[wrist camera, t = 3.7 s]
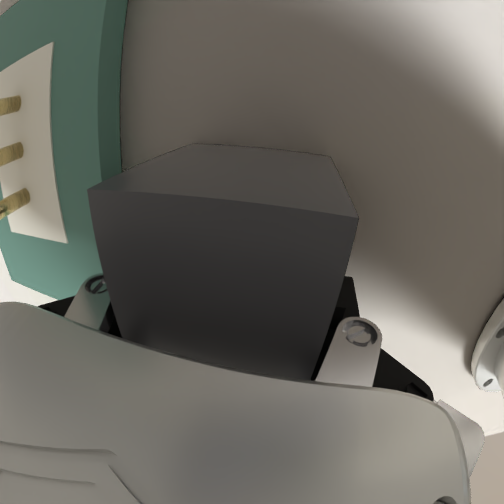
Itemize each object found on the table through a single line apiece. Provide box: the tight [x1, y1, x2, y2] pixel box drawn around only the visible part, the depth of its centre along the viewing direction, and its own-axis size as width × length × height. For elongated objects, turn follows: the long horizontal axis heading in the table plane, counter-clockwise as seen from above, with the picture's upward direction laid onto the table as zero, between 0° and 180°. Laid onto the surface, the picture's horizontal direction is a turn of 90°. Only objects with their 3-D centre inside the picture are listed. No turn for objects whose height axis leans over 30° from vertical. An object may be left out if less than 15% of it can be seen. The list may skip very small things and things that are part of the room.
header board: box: [0, 0, 128, 300], centre depth 10 cm, size 12×19×2 cm, turn 177°
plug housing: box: [87, 144, 359, 380], centre depth 9 cm, size 5×9×6 cm, turn 177°
